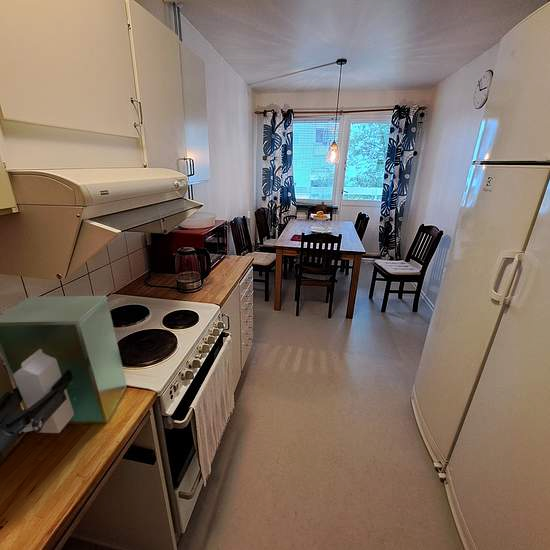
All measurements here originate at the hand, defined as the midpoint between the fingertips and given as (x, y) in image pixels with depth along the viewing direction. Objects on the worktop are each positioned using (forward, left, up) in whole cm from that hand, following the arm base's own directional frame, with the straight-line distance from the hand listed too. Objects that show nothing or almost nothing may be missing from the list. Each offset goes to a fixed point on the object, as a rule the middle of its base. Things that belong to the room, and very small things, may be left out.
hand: (56, 374), depth 76 cm
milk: (0, -5, -12) cm, 13 cm away
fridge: (0, +6, -17) cm, 18 cm away
